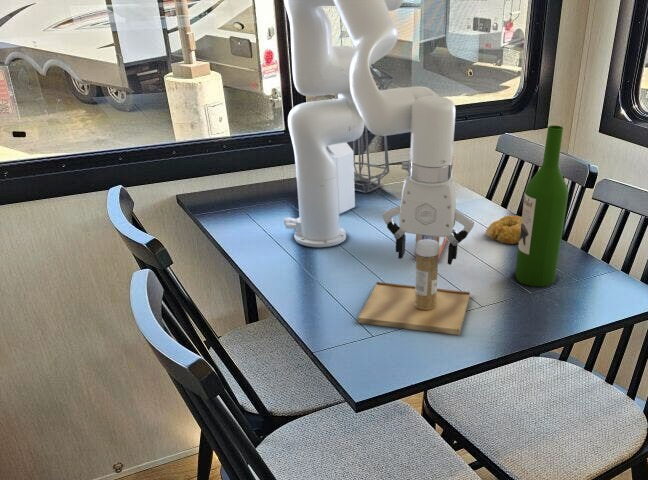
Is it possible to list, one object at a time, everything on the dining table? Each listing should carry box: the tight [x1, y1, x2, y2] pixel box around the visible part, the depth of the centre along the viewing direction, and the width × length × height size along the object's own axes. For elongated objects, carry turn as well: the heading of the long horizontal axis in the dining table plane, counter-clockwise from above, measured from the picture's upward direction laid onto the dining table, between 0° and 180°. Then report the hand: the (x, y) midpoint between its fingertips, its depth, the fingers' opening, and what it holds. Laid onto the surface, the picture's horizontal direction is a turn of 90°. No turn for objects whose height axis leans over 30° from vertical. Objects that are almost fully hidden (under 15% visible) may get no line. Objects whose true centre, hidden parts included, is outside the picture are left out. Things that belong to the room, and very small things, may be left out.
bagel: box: [485, 214, 522, 245], centre depth 170 cm, size 10×11×5 cm
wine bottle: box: [514, 125, 569, 288], centre depth 143 cm, size 9×9×32 cm
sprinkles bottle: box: [414, 239, 440, 310], centre depth 134 cm, size 5×5×13 cm
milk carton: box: [326, 142, 356, 215], centre depth 180 cm, size 7×7×19 cm
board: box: [357, 281, 471, 336], centre depth 138 cm, size 20×16×2 cm
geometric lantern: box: [335, 63, 397, 194], centre depth 191 cm, size 16×16×35 cm
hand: (425, 258), depth 133 cm, fingers open, 9 cm apart
